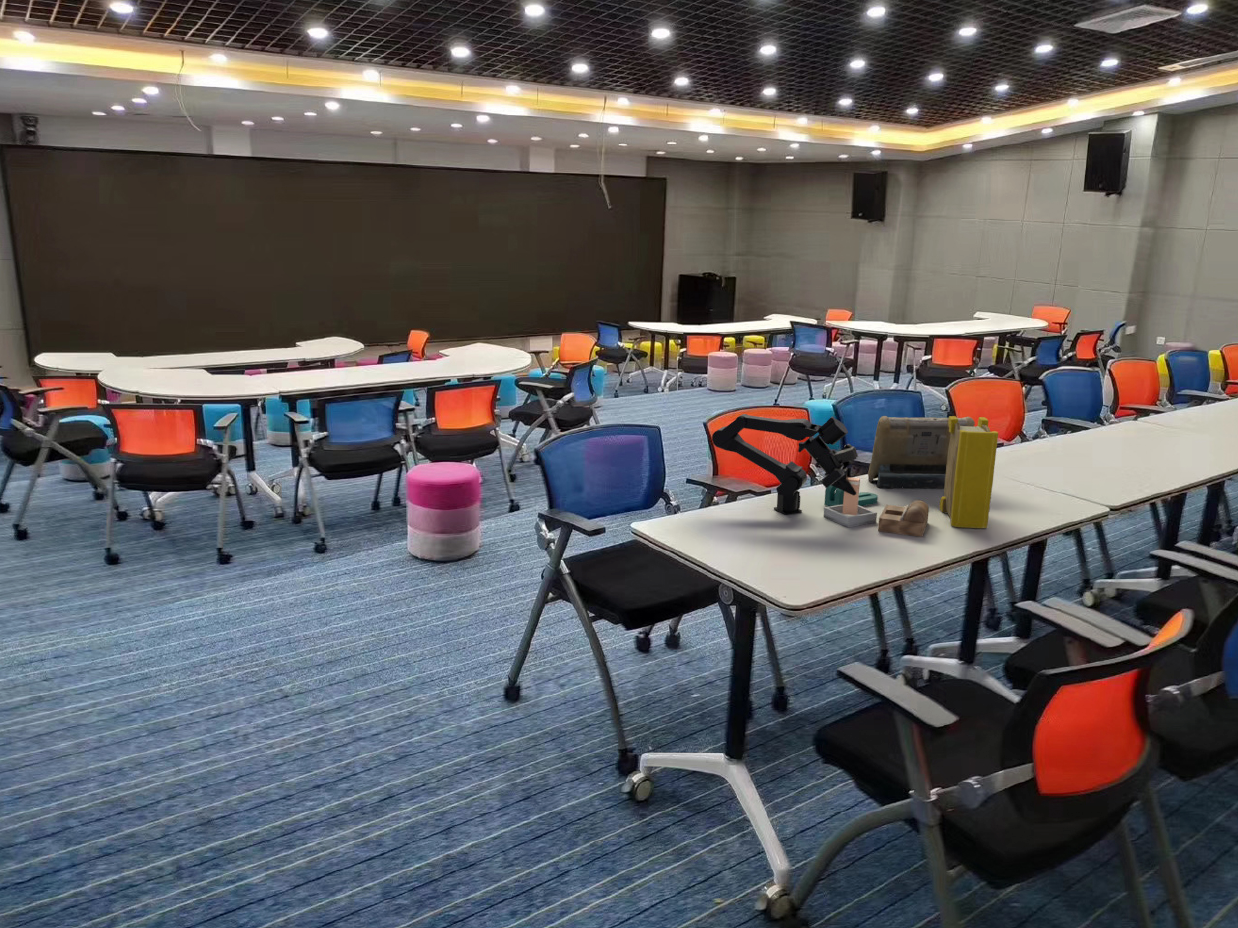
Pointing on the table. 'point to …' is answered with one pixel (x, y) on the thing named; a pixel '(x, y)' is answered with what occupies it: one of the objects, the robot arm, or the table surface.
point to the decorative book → (969, 474)
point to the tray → (850, 516)
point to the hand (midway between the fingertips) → (856, 493)
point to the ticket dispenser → (905, 519)
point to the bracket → (838, 497)
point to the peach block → (851, 498)
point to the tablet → (911, 452)
